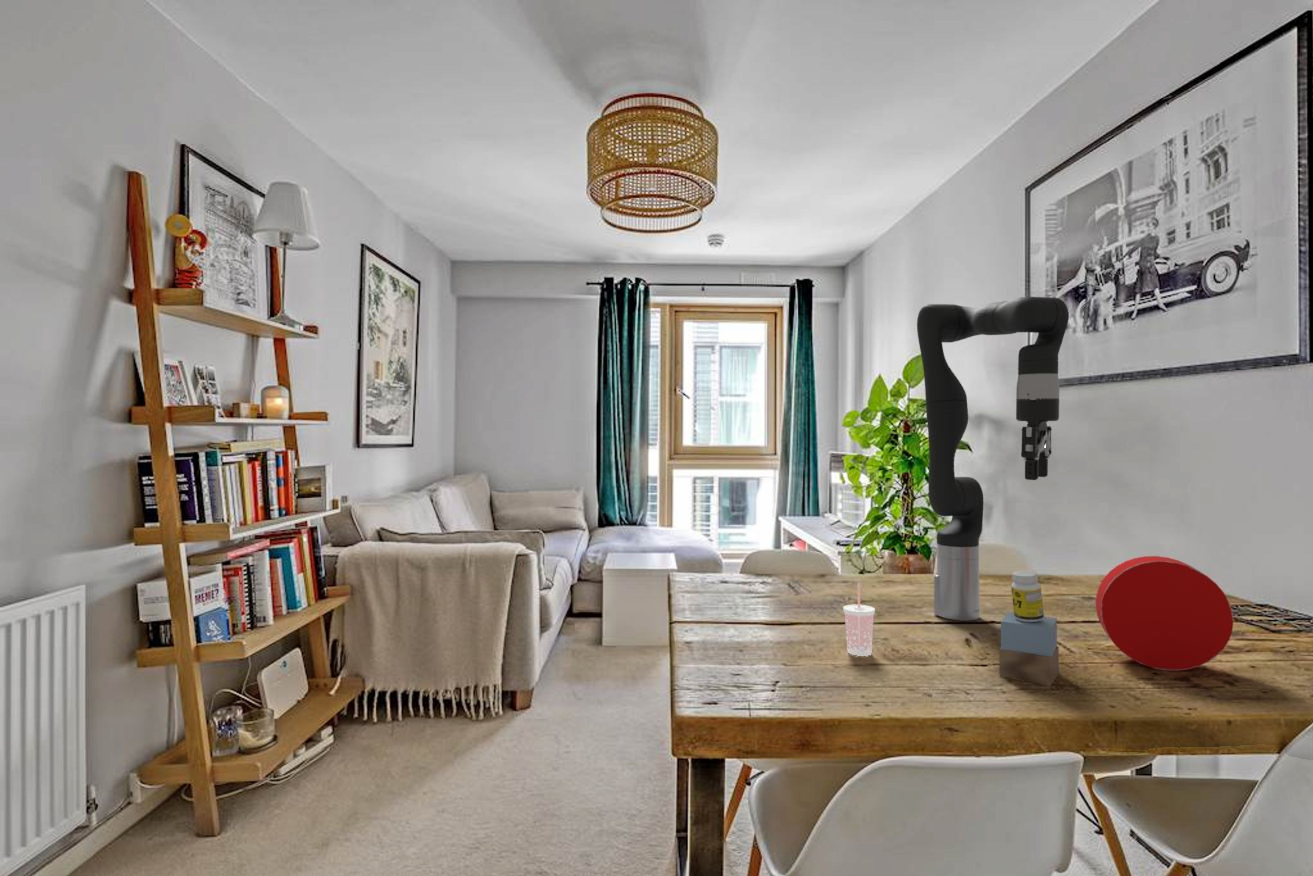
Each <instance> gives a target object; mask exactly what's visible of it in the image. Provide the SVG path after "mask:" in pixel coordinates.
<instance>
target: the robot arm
mask: <svg viewBox="0 0 1313 876" xmlns="http://www.w3.org/2000/svg"><path fill="white" fill-rule="evenodd" d="M1069 313H1070V312H1069V309H1068V306H1067V304H1066V302H1065V301H1064V300H1063V299H1061V298H1058V297H1052V296H1047V297H1046V296H1022V297H1015V298H1013V299H1010V300H1004V301H997V302H991V303H987V304H985V305H982V306H980V307H969V306H963V305H957V304H950V303H947V304H945V303H944V304H943V303H939V304H938V303H937V304H935V303H929V304H925V305H923V306H922V307H921V308H920V309H919V312H918V314H917V320H916V329H917V331H916V332H917V339H918V344H919V350H920V356H921V361H922V362H921V363H922V369H923V379H924V380H923V381H924V390H925V391H924V392H925V396H924V397H925V412H926V414H925V415H926V421H927V422H926V423H927V431H928V457H929V461H928V463H929V464H928V489H927V490H928V500H929V505H930V507H931V509H932V511H933V512H934V513H935V514H936V515H938V516H940V517H951V521H950V522H949V523H948V524H947V525H946V526H945V527H943V528H941V529H940V530H938V532H937V533H936V574H935V575H934V576H933V586H934V587H933V589H934V590H933V592H934V593H933V599H934V600H933V601H934V602H933V605H934V608H933V609H934V614H933V615H934V616H937V615H938V616H939V617H941V618H944V619H948V620H953V621H965V622H966V621H976V620H979V619H980V537H981V535H982V532H983V521H984V520H983V519H984V493H983V489H982V486H981V484H980V483H979V481H978V480H976V478H974V477H971V476H955V457H956V454H957V453H956V452H957V449H958V448H959V444H960V443H961V441H962V439H963V436H964V434H965V432H966V429H967V427H968V423H969V407H968V398H967V393H966V390H965V388H964V386H963V385H962V383H961V381H960V380H959V378H957V375H956V374H955V373H954V372H953V370H952V369H951V368H950V366H949V364H948V362H947V360H946V356H945V353H944V347H943V343H955V342H959V341H962V340H966V339H968V338H971V337H974V336H981V335H984V336H1000V335H1001V336H1002V335H1004V336H1006V335H1012V334H1016V333H1034V334H1035V333H1038V334H1037V337H1036V340H1035V341H1034V343H1033V344H1028V345H1024V346H1022V347H1021V348H1020V349H1019V351H1018V359H1017V360H1018V361H1017V362H1018V363H1017V382H1016V392H1015V393H1016V400H1015V402H1016V405H1015V406H1016V407H1015V411H1016V412H1015V420H1016V421H1018V422H1027V424H1026V426H1022V428H1021V452H1020V455H1021V458H1023V461H1024V479H1025V480H1027V481H1029V480H1030V481H1037V480H1038V479H1039V478H1046V477H1048V475H1049V474H1048V472H1049V469H1048V468H1049V465H1048V464H1049V459H1050V456H1051V455H1052V426H1051V425H1049V426H1048V425H1047V423H1048V422H1057V421H1059V418H1060V380H1059V352H1060V350H1061V347H1062V343H1063V341H1064V337H1065V333H1066V330H1067V328H1068V323H1069V318H1070V316H1069Z"/></svg>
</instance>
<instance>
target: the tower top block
mask: <svg viewBox="0 0 1313 876" xmlns="http://www.w3.org/2000/svg"><path fill="white" fill-rule="evenodd" d="M1057 646H1058V618H1057V617H1050V616H1044V619H1043V620H1041V621H1038V622H1023V621H1019V620H1017V619H1016V618H1015V617H1014V611H1007V613H1006V614H1005V615H1004V617H1003V618H1002V619H1001V621H1000V648H1001V649H1003V650H1010V651H1016V652H1023V653H1029V654H1035V655H1042V656H1048V657H1052V656H1053V654H1054V651H1055V649H1056V647H1057Z"/></svg>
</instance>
